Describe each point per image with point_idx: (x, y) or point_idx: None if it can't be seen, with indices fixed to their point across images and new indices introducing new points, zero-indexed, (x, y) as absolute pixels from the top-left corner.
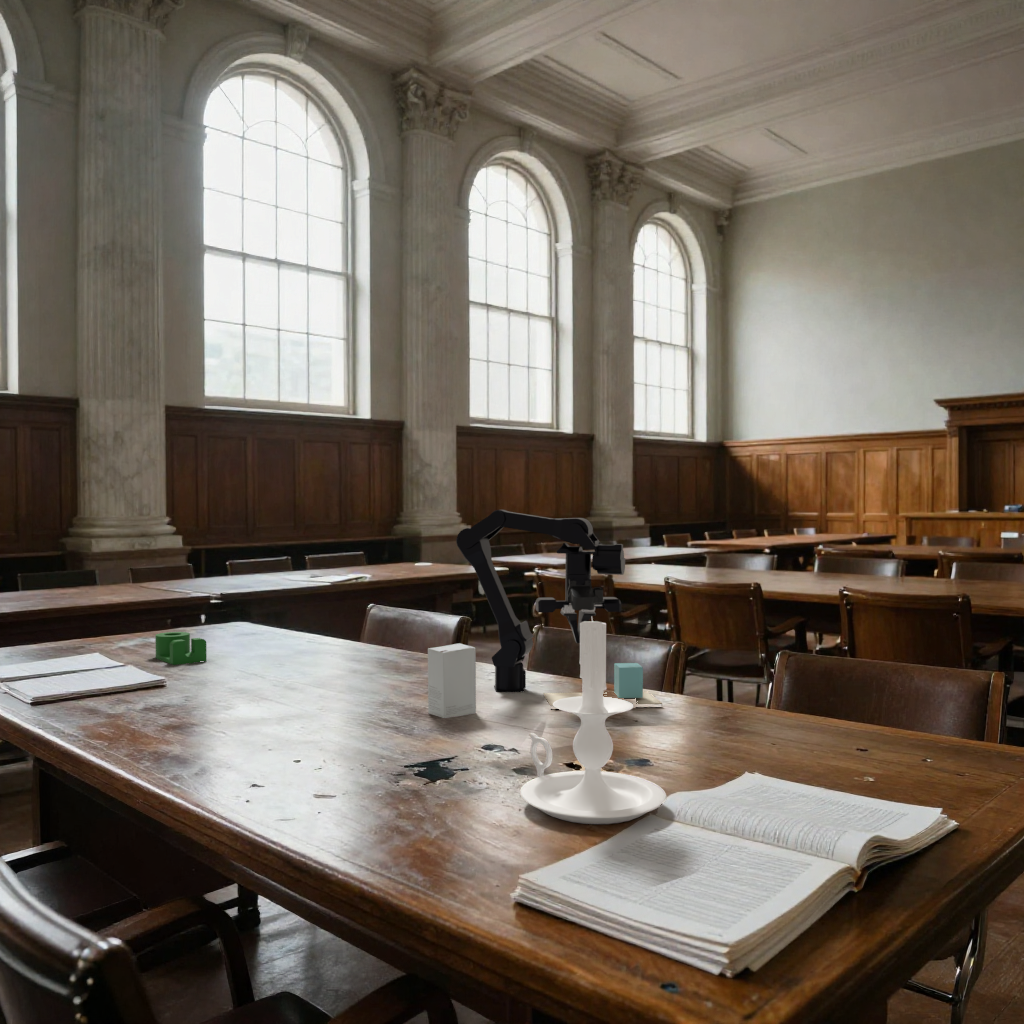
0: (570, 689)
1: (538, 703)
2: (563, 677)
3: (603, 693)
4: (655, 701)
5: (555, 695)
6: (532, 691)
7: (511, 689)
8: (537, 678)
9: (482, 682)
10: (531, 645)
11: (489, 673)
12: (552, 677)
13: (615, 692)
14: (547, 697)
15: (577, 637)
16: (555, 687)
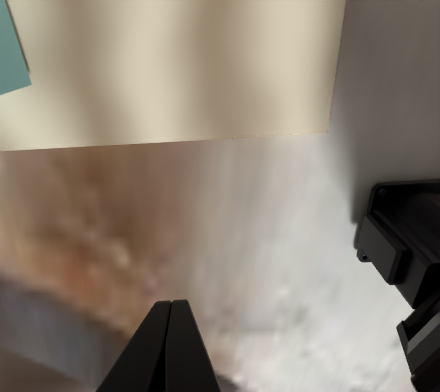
0: (205, 246)
1: (367, 23)
2: None
3: (86, 120)
4: None
5: (289, 88)
6: (330, 222)
7: (421, 190)
8: (276, 353)
9: None
10: (432, 366)
11: (375, 388)
12: (236, 362)
13: (16, 52)
14: (331, 49)
15: (176, 338)
16: (247, 269)
